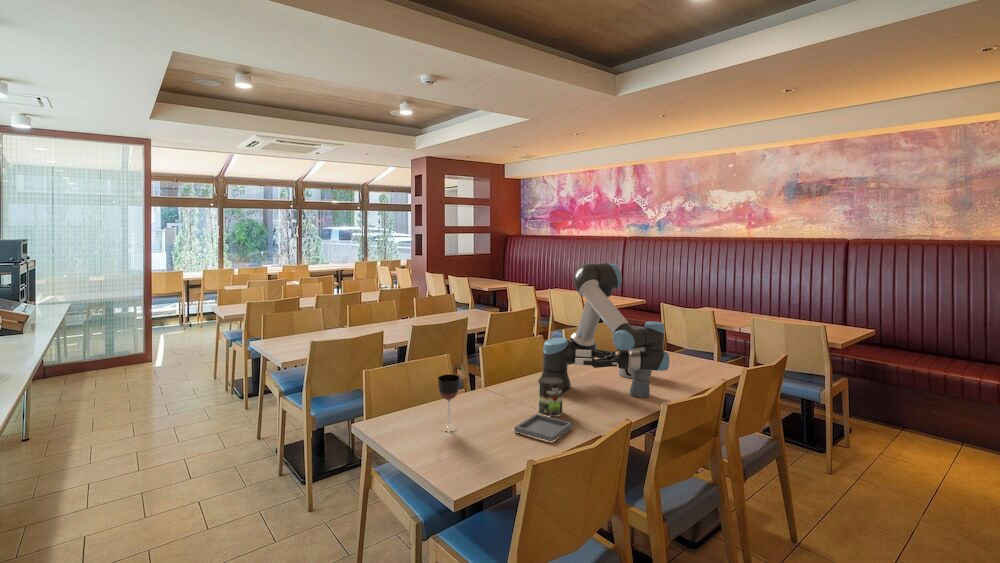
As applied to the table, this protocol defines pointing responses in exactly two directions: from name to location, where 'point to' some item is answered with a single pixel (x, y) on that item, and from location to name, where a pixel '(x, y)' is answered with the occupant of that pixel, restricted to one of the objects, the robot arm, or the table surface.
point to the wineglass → (448, 389)
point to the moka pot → (640, 383)
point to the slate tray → (543, 427)
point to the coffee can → (550, 396)
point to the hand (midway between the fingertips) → (575, 357)
